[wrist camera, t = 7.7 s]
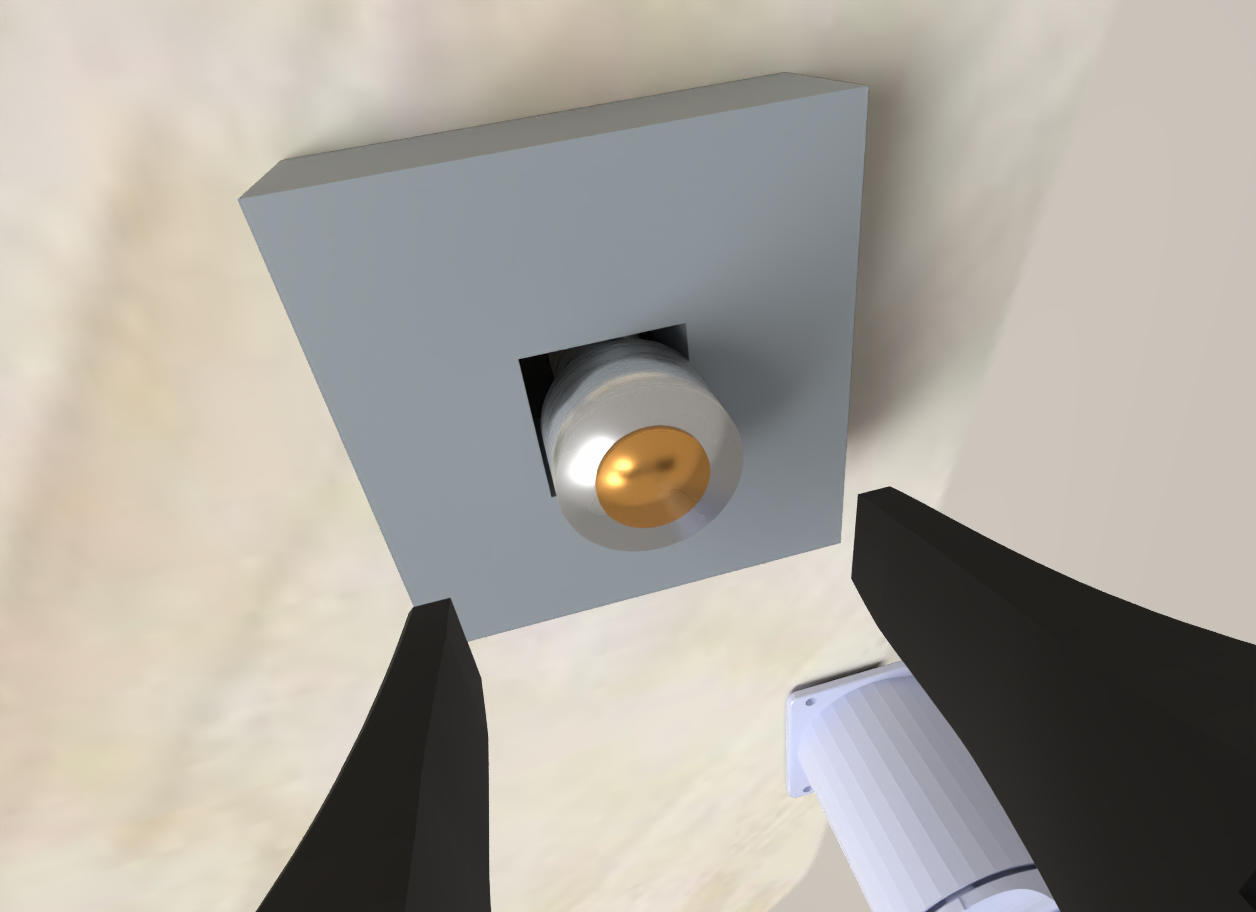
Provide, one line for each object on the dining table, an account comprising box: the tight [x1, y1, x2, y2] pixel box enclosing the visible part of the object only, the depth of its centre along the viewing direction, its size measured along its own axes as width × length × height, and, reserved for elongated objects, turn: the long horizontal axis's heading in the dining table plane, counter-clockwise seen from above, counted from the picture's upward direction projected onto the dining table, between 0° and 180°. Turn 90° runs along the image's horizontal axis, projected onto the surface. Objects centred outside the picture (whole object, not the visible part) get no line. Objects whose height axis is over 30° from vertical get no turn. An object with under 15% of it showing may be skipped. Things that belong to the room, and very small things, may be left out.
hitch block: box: [238, 72, 869, 642], centre depth 18 cm, size 12×12×4 cm
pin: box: [541, 334, 743, 552], centre depth 17 cm, size 4×4×7 cm
